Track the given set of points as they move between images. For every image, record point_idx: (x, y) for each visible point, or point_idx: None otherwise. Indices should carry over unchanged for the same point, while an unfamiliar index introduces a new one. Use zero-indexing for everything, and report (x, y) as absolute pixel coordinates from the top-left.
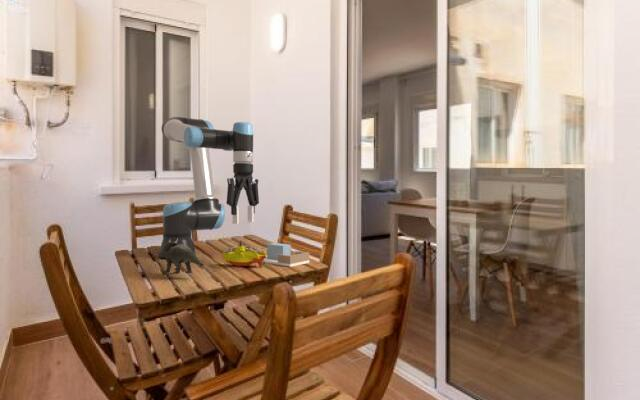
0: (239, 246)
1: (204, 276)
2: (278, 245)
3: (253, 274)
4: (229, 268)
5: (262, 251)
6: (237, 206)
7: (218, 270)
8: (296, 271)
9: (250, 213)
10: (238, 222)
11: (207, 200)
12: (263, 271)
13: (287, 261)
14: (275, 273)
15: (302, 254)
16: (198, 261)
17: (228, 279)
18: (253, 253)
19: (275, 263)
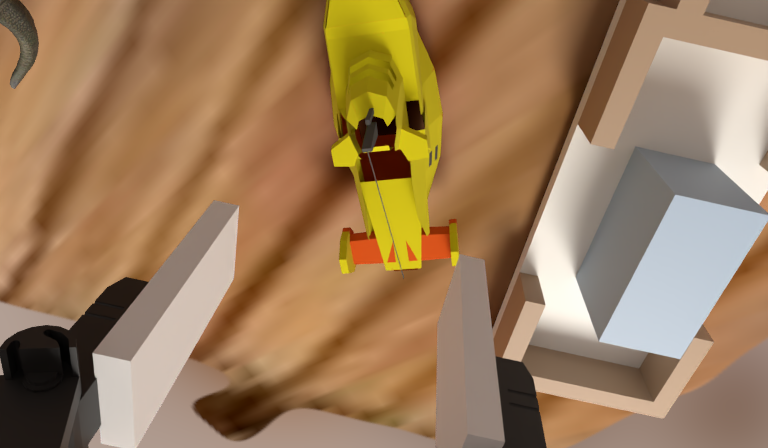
0: (349, 134)
1: (46, 93)
2: (617, 304)
3: (239, 278)
4: (283, 71)
5: (451, 253)
6: (127, 433)
7: (198, 49)
8: (397, 399)
9: (445, 382)
10: (224, 287)
11: None
12: (320, 283)
13: (496, 342)
14: (313, 346)
15: (598, 402)
16: (1, 23)
17: (93, 240)
18: (424, 192)
19: (524, 250)
